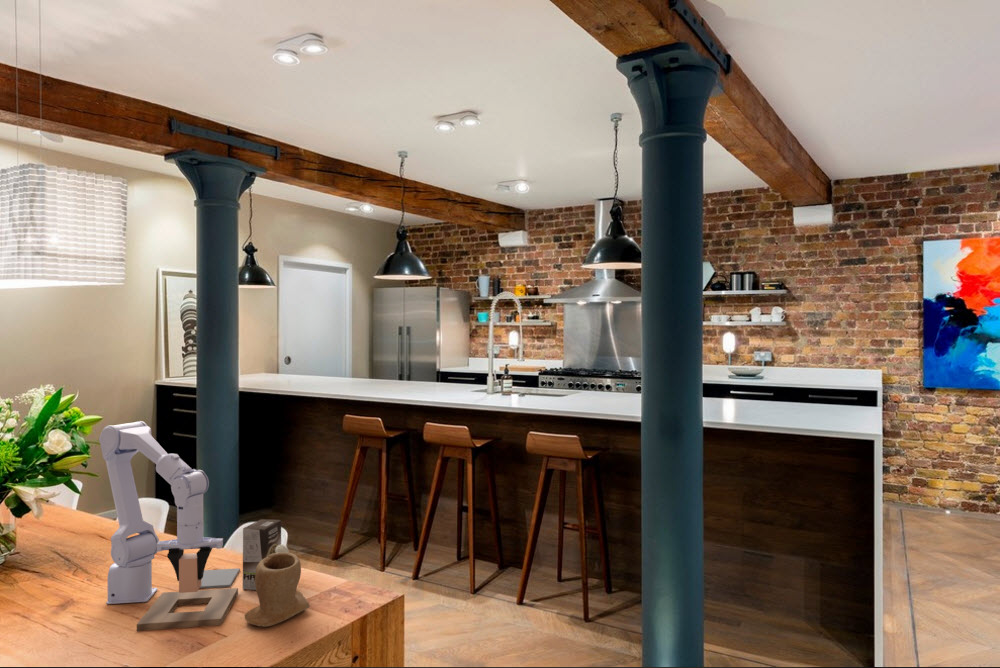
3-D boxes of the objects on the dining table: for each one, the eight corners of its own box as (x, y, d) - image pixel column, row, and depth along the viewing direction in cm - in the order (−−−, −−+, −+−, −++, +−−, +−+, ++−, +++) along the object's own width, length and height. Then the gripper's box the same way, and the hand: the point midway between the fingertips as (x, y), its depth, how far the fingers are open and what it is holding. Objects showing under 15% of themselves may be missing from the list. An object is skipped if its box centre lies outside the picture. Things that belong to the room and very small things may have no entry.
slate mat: (181, 589, 174) (181, 587, 174) (194, 572, 186) (194, 570, 186) (230, 587, 176) (230, 584, 176) (239, 570, 188) (239, 568, 188)
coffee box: (264, 591, 173) (264, 529, 173) (241, 589, 174) (241, 527, 174) (282, 578, 182) (282, 519, 182) (260, 576, 183) (260, 518, 183)
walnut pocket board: (136, 630, 151) (136, 624, 151) (162, 598, 168) (162, 592, 168) (220, 625, 154) (220, 618, 154) (237, 593, 171) (237, 588, 171)
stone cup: (269, 636, 148) (269, 569, 148) (237, 622, 155) (237, 558, 155) (323, 612, 161) (323, 550, 160) (291, 600, 167) (291, 541, 167)
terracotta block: (178, 592, 159) (178, 559, 158) (183, 586, 163) (183, 553, 162) (196, 591, 159) (196, 558, 159) (201, 585, 163) (201, 552, 163)
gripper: (152, 529, 156) (152, 587, 156) (218, 526, 158) (218, 583, 158) (162, 520, 162) (162, 575, 163) (225, 517, 165) (225, 572, 165)
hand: (190, 578), depth 161 cm, fingers closed on terracotta block, 4 cm apart
